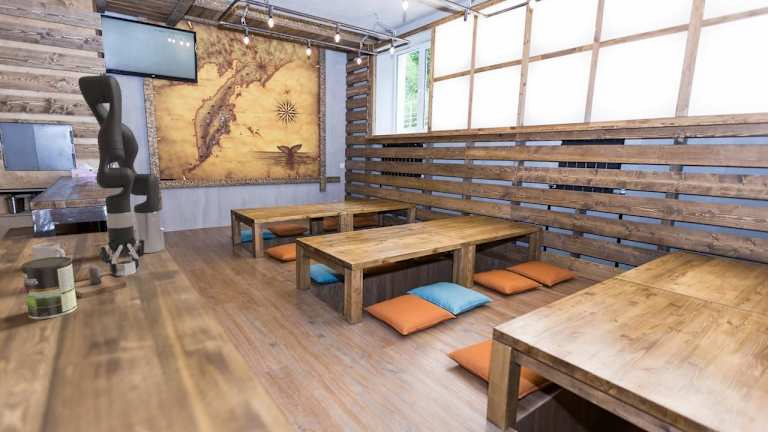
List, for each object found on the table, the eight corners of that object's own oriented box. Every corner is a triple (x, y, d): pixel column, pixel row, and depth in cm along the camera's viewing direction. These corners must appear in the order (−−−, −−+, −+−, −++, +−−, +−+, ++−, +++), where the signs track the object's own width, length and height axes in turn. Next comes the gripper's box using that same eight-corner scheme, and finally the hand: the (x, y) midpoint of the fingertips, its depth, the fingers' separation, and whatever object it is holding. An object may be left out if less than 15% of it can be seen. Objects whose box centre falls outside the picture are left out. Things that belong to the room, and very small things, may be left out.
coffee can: (39, 323, 98) (31, 270, 96) (21, 314, 103) (13, 263, 100) (85, 308, 107) (79, 260, 105) (66, 301, 112) (60, 254, 109)
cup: (75, 263, 147) (72, 243, 146) (55, 269, 139) (52, 248, 138) (49, 262, 148) (46, 242, 147) (28, 268, 140) (25, 247, 139)
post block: (109, 279, 131) (107, 260, 130) (126, 286, 124) (124, 267, 123) (66, 289, 121) (63, 269, 120) (81, 298, 114) (79, 277, 113)
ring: (130, 269, 141) (129, 258, 141) (138, 272, 138) (137, 261, 137) (111, 273, 136) (110, 262, 136) (119, 276, 133) (118, 265, 132)
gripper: (137, 220, 142) (141, 264, 145) (91, 226, 130) (96, 274, 133) (147, 223, 138) (151, 268, 141) (101, 229, 126) (106, 278, 129)
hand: (124, 270), depth 137 cm, fingers closed on ring, 6 cm apart
